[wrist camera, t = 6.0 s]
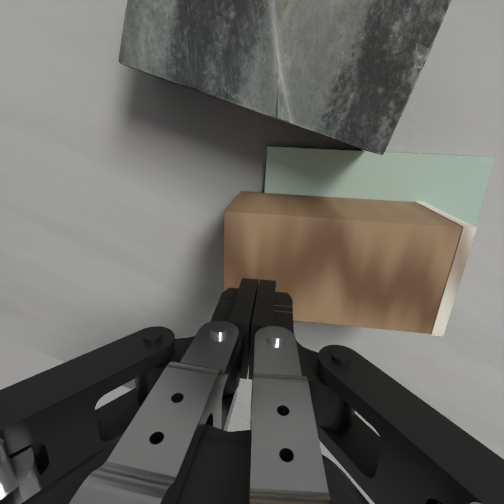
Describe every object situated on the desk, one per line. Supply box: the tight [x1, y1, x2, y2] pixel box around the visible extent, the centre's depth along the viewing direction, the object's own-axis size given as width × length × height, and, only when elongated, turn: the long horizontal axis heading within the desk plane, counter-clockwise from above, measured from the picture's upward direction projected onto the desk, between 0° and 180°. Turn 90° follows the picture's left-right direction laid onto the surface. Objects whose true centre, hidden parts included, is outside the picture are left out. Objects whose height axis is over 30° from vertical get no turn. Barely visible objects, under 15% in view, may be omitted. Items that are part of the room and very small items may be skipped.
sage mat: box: [265, 146, 496, 226], centre depth 22 cm, size 12×14×1 cm
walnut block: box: [224, 191, 477, 336], centre depth 19 cm, size 6×6×12 cm
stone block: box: [119, 0, 451, 155], centre depth 16 cm, size 9×14×5 cm, turn 72°
